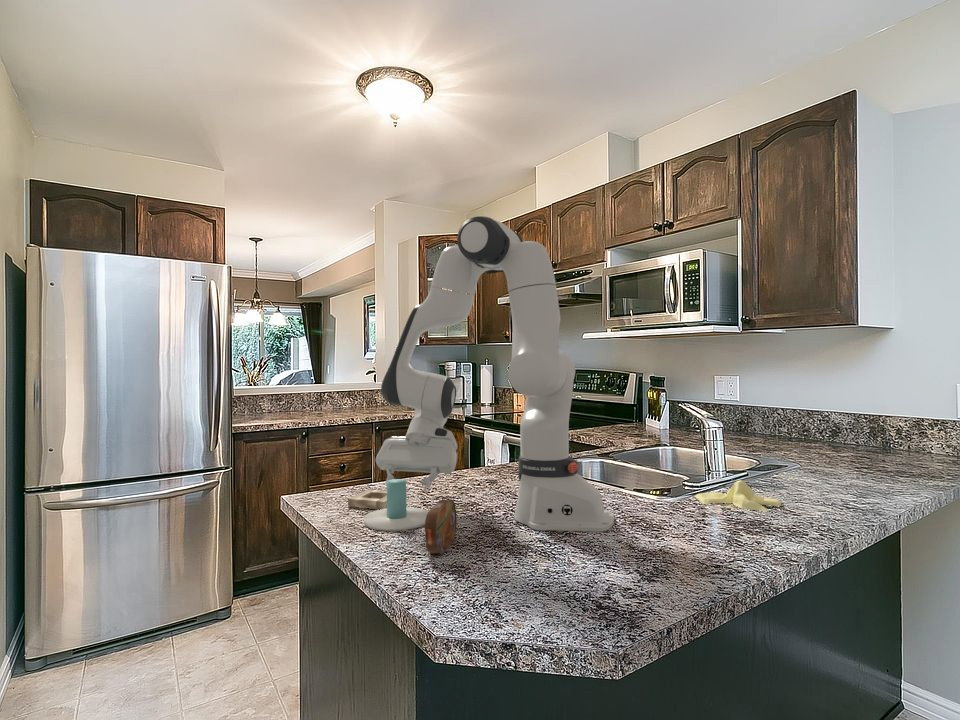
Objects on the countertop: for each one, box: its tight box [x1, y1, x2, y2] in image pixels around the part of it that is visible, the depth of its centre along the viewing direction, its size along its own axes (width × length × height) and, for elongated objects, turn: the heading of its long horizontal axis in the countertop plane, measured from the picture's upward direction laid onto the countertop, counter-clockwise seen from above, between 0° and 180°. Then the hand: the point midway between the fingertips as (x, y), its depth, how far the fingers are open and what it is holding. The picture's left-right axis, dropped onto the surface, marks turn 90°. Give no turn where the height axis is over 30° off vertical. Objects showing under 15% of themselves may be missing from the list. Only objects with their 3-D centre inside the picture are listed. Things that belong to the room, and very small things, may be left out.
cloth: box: [694, 480, 782, 511], centre depth 138 cm, size 22×19×6 cm
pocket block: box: [347, 489, 387, 510], centre depth 141 cm, size 10×10×2 cm
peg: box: [386, 478, 407, 519], centre depth 126 cm, size 4×4×8 cm
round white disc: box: [363, 506, 429, 532], centre depth 126 cm, size 15×15×1 cm
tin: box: [424, 498, 458, 555], centre depth 109 cm, size 15×3×8 cm, turn 168°
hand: (407, 484), depth 132 cm, fingers open, 8 cm apart
